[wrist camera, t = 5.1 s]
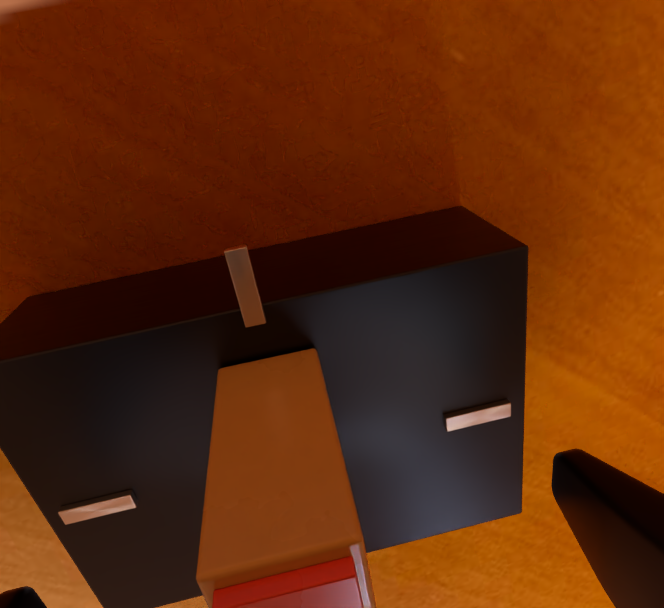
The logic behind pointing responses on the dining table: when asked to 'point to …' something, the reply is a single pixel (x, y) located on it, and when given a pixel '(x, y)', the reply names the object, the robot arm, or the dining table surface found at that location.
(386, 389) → the knob panel
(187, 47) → the dining table surface
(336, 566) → the tan block
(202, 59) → the dining table surface
